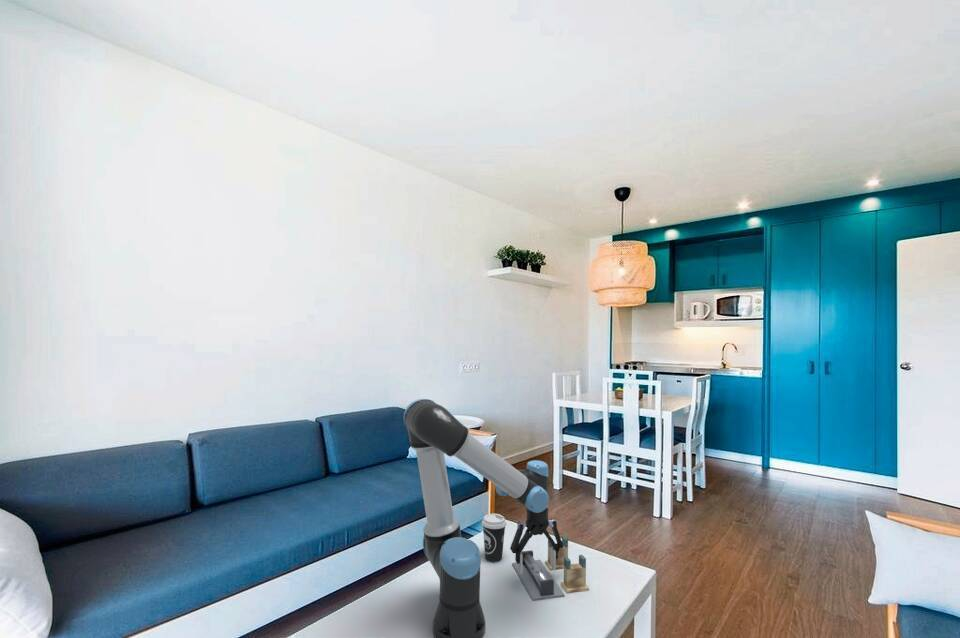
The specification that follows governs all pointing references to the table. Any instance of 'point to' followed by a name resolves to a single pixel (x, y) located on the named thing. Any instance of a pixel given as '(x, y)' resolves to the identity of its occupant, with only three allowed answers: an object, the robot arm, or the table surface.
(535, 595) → the pad
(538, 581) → the rail
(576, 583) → the post near
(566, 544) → the post far
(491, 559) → the coffee cup
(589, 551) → the table surface
